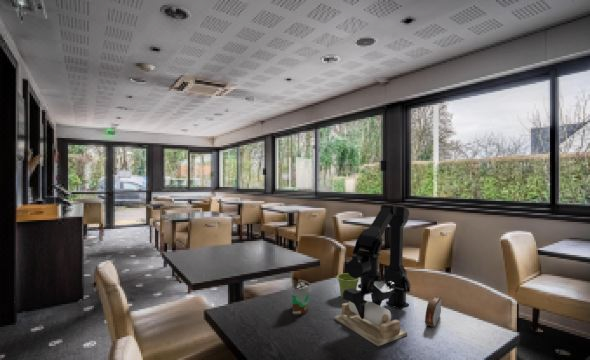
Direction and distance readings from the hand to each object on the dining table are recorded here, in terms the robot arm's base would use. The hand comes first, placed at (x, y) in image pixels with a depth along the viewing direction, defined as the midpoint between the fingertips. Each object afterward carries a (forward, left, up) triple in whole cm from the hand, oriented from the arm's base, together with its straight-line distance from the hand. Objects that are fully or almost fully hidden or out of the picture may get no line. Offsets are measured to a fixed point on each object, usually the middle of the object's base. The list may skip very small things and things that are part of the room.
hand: (368, 316), depth 106 cm
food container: (+13, -22, -4) cm, 26 cm away
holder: (0, 0, -4) cm, 4 cm away
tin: (-22, +9, -4) cm, 25 cm away
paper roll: (0, 0, -1) cm, 1 cm away
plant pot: (-11, -24, -4) cm, 27 cm away
